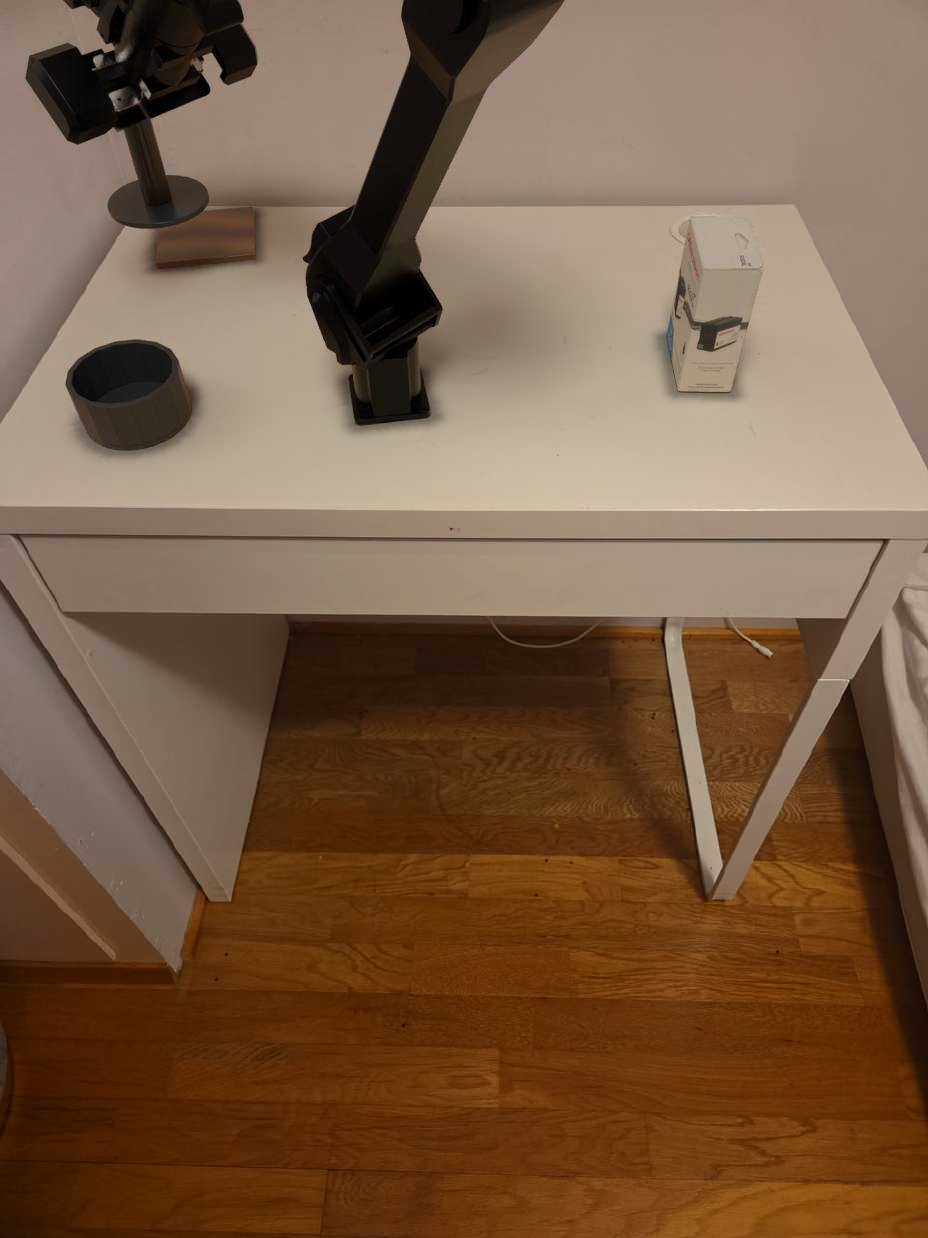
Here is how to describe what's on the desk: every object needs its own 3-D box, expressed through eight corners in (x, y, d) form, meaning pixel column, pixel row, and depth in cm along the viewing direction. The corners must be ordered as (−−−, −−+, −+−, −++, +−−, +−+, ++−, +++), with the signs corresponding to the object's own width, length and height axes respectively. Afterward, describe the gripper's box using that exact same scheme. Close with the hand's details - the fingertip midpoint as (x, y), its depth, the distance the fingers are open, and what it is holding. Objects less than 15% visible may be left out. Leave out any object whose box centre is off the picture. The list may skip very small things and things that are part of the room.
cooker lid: (154, 245, 82) (120, 130, 74) (90, 214, 85) (51, 100, 77) (231, 205, 86) (206, 91, 78) (167, 176, 90) (137, 65, 82)
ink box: (664, 335, 83) (688, 212, 74) (718, 336, 83) (748, 212, 74) (675, 393, 78) (702, 268, 69) (732, 393, 78) (766, 268, 69)
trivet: (255, 259, 92) (254, 253, 92) (157, 268, 91) (155, 263, 91) (254, 211, 98) (253, 205, 98) (161, 219, 97) (160, 214, 97)
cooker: (190, 443, 75) (176, 399, 71) (79, 456, 74) (59, 412, 70) (192, 377, 80) (179, 334, 77) (89, 388, 79) (71, 345, 76)
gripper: (205, -128, 69) (159, 3, 82) (-17, -71, 61) (-27, 65, 74) (288, 14, 72) (231, 119, 85) (87, 87, 64) (59, 191, 77)
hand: (128, 120), depth 80 cm, fingers closed on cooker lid, 2 cm apart
